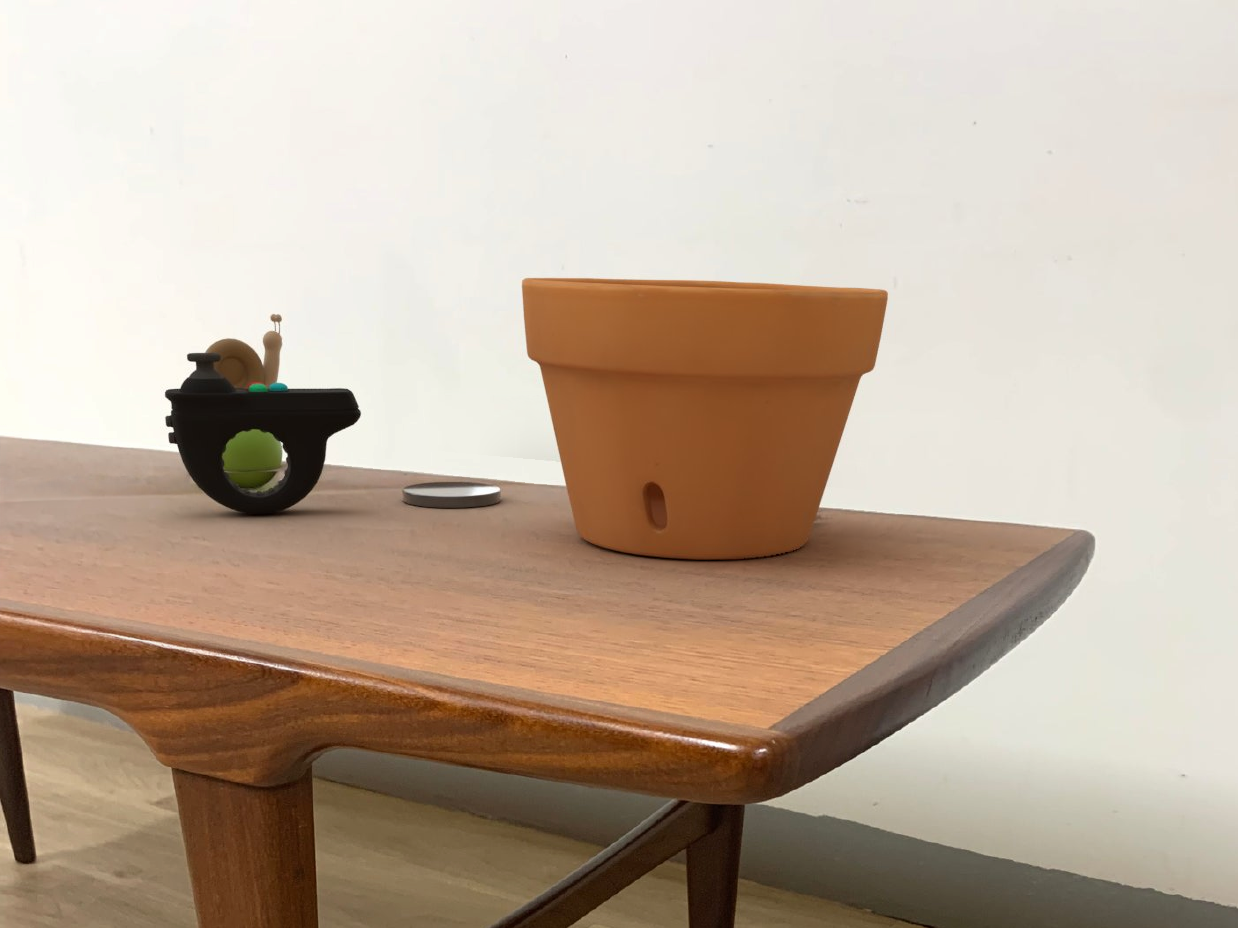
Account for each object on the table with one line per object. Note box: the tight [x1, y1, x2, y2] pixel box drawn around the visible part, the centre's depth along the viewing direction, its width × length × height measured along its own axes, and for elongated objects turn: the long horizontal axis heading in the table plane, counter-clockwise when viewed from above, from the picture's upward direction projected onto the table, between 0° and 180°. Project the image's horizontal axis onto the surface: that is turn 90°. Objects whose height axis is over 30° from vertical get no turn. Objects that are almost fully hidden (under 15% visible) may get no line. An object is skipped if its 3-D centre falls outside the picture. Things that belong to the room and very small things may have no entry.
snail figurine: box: [204, 313, 283, 490], centre depth 95 cm, size 5×6×12 cm
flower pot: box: [521, 277, 889, 560], centre depth 79 cm, size 21×21×15 cm
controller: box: [164, 352, 362, 515], centre depth 86 cm, size 4×12×10 cm, turn 108°
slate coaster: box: [401, 481, 502, 509], centre depth 94 cm, size 7×7×1 cm
